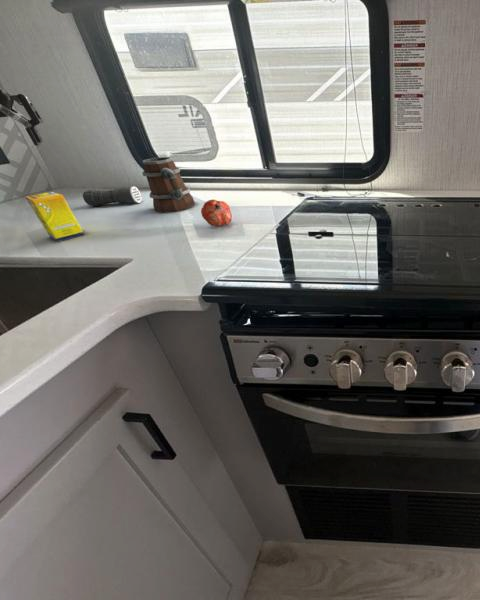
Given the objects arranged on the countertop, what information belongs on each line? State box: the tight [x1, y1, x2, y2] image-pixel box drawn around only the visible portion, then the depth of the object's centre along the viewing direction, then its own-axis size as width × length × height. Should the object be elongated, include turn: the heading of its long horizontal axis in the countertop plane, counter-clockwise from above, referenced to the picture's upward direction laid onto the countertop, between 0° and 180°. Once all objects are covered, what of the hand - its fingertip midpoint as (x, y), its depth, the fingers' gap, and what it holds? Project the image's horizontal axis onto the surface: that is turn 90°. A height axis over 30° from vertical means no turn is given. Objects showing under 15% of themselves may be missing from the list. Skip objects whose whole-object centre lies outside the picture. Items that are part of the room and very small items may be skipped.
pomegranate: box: [200, 199, 233, 227], centre depth 92 cm, size 7×7×10 cm
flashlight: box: [82, 186, 143, 207], centre depth 113 cm, size 15×5×5 cm, turn 102°
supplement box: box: [24, 191, 85, 242], centre depth 86 cm, size 6×6×11 cm
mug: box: [141, 156, 196, 213], centre depth 105 cm, size 16×12×15 cm
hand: (14, 146), depth 77 cm, fingers open, 8 cm apart
